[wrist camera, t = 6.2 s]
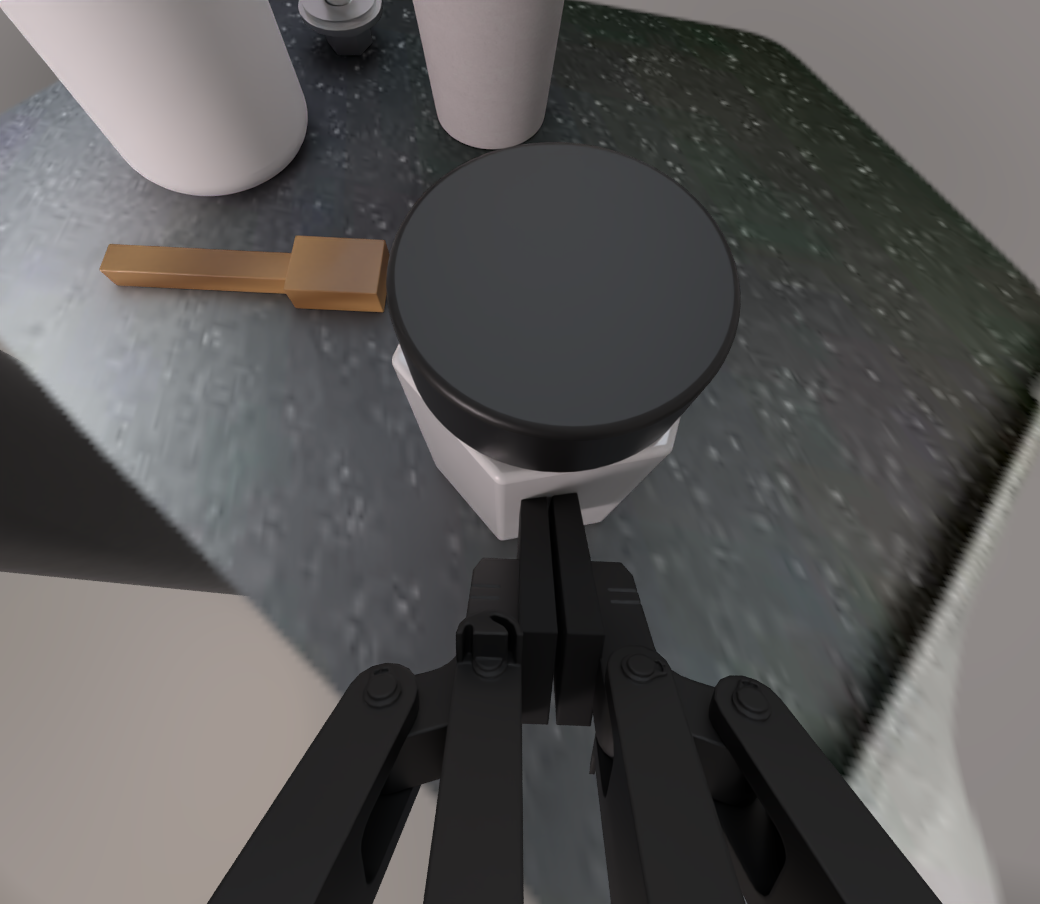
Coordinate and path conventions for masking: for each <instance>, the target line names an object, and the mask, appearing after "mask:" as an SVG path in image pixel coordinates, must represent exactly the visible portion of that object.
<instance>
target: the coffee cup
mask: <svg viewBox="0 0 1040 904" xmlns="http://www.w3.org/2000/svg"><path fill="white" fill-rule="evenodd" d="M413 3H414V8H415V13H416V17H417V22H418V27H419V31H420V36H421V41H422V46H423V50H424V55H425V60H426V64H427V69H428V74H429V78H430V83H431V88H432V93H433V97H434V102H435V107H436V111H437V116H438V119H439V121H440V123H441V125H442V127H443V128H444V129H445V131H446V132H447V133H448V134H449V135H451V136H452V137H453V138H455V139H456V140H458V141H460V142H462V143H464V144H466V145H469V146H472V147H476V148H482V149H503V148H507V147H512V146H515V145H518V144H520V143H523V142H524V141H526V140H528V139H529V138H531V137H532V136H533V135H534V134H535V133H536V132H537V131H538V130H539V128H540V127H541V125H542V123H543V120H544V116H545V111H546V105H547V99H548V93H549V87H550V81H551V75H552V69H553V64H554V58H555V52H556V46H557V40H558V34H559V28H560V22H561V16H562V10H563V5H564V0H413Z"/></svg>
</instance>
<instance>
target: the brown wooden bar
mask: <svg viewBox="0 0 1040 904" xmlns="http://www.w3.org/2000/svg"><path fill="white" fill-rule="evenodd" d="M388 260H389V252H388V249H387V245H386V242H385V240H374V239H354V238H335V237H315V236H295V240H294V245H293V249H292V253H278V252H259V251H239V250H219V249H199V248H179V247H160V246H140V245H120V244H109V245H108V248H107V251H106V253H105V256H104V258H103V261H102V264H101V266H100V271H101V272H102V273H103V274H104V275H105V276H107V277H108V278H109V279H110V280H111V281H112V282H114V283H115V284H116V285H118V286H138V287H158V288H179V289H200V290H220V291H241V292H261V293H282V294H287V296H288V297H289V299H290V300H291V302H292V303H293V305H294V306H295V308H305V309H326V310H347V311H368V312H384V307H385V301H386V294H387V293H386V276H387V266H388Z"/></svg>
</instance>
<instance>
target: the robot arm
mask: <svg viewBox="0 0 1040 904" xmlns="http://www.w3.org/2000/svg"><path fill="white" fill-rule="evenodd" d="M640 602H641V601H640V598H639V595H638V593H637V588H636V585H635V582H634V579H633V575H632V574H631V573H630V572H629V571H628V570H627V569H626V568H625V566H624V565H623V564H622V563H620V562H596V561H591V559H590V554H589V549H588V544H587V539H586V534H585V529H584V524H583V519H582V514H581V509H580V504H579V499H578V494H577V493H570V494H562V495H554V496H553V497H552V499H551V502H550V505H549V507H547V496H546V497H539V498H531V499H523V500H521V505H520V513H519V530H518V552H517V559H497V558H482V559H481V561H480V562H479V563H478V565H477V566H476V567H475V568H474V570H473V575H472V581H471V588H470V595H469V602H468V609H467V615H466V618H465V619H464V620H463V621H462V622H461V623H460V624H459V627H458V629H457V631H456V657H455V658H453V659H452V660H451V661H450V662H449V663H448V664H446V665H444V666H443V667H441V668H438V669H435V670H433V671H429V672H425V673H421V674H417V675H414V674H413V673H412V672H411V671H410V669H409V668H406V667H404V666H402V665H400V664H393V663H384V664H380V665H376V666H372V667H370V668H369V669H367V670H365V671H363V672H362V673H360V674H359V675H358V676H357V677H356V679H355V680H354V681H353V682H352V683H351V684H350V686H349V687H348V689H347V690H346V692H345V693H344V695H343V696H342V698H341V700H340V701H339V703H338V704H337V706H336V707H335V709H334V710H333V712H332V713H331V715H330V716H329V718H328V719H327V721H326V722H325V724H324V725H323V727H322V729H321V730H320V732H319V733H318V735H317V736H316V738H315V739H314V741H313V742H312V744H311V745H310V747H309V749H308V750H307V751H306V753H305V755H304V756H303V758H302V759H301V761H300V762H299V764H298V765H297V767H296V768H295V770H294V771H293V773H292V774H291V776H290V778H289V779H288V781H287V782H286V784H285V785H284V787H283V788H282V790H281V791H280V793H279V794H278V796H277V797H276V799H275V800H274V802H273V804H272V805H271V807H270V808H269V810H268V811H267V813H266V814H265V816H264V817H263V819H262V820H261V822H260V823H259V825H258V826H257V828H256V829H255V831H254V832H253V834H252V836H251V837H250V839H249V840H248V842H247V843H246V845H245V847H244V848H243V849H242V851H241V853H240V854H239V855H238V857H237V858H236V860H235V862H234V863H233V865H232V866H231V868H230V869H229V871H228V872H227V874H226V875H225V877H224V878H223V880H222V881H221V883H220V885H219V886H218V888H217V889H216V891H215V892H214V894H213V895H212V897H211V898H210V900H209V901H208V903H207V904H373V901H374V899H375V897H376V894H377V892H378V889H379V887H380V884H381V882H382V879H383V877H384V874H385V872H386V870H387V867H388V865H389V862H390V860H391V857H392V855H393V853H394V850H395V848H396V845H397V843H398V840H399V838H400V835H401V833H402V830H403V828H404V826H405V823H406V821H407V818H408V816H409V813H410V811H411V808H412V806H413V803H414V801H415V799H416V796H417V794H418V791H419V789H420V786H421V784H424V783H427V782H430V781H433V780H437V779H440V785H439V792H438V800H437V807H436V814H435V822H434V830H433V836H432V843H431V850H430V858H429V866H428V872H427V879H426V887H425V894H424V901H423V904H524V897H523V791H522V724H548V720H549V711H550V702H551V692H552V683H553V677H554V693H555V708H556V724H557V725H575V726H591V720H592V714H593V716H594V723H595V731H596V733H595V739H594V745H593V751H592V756H591V762H590V773H589V774H595V770H596V779H597V787H598V795H599V804H600V812H601V821H602V829H603V838H604V846H605V855H606V863H607V872H608V880H609V889H610V897H611V904H745V901H744V898H745V899H746V901H747V903H748V904H942V902H941V901H940V900H939V899H938V897H937V896H936V895H935V894H934V892H933V891H932V890H931V889H930V887H929V886H928V885H927V883H926V882H925V881H924V880H923V878H922V877H921V876H920V875H919V873H918V872H917V871H916V870H915V868H914V867H913V866H912V864H911V863H910V862H909V861H908V859H907V858H906V857H905V856H904V854H903V853H902V852H901V851H900V849H899V848H898V847H897V846H896V844H895V843H894V842H893V840H892V839H891V838H890V837H889V835H888V834H887V833H886V832H885V830H884V829H883V828H882V827H881V825H880V824H879V823H878V821H877V820H876V819H875V818H874V816H873V815H872V814H871V813H870V811H869V810H868V809H867V808H866V806H865V805H864V804H863V803H862V801H861V800H860V799H859V797H858V796H857V795H856V794H855V792H854V791H853V790H852V789H851V787H850V786H849V785H848V784H847V782H846V781H845V780H844V778H843V777H842V776H841V775H840V773H839V772H838V771H837V770H836V768H835V767H834V766H833V765H832V763H831V762H830V761H829V760H828V758H827V757H826V756H825V754H824V753H823V752H822V751H821V749H820V748H819V747H818V746H817V744H816V743H815V742H814V741H813V739H812V738H811V737H810V735H809V734H808V733H807V732H806V730H805V729H804V728H803V727H802V725H801V724H800V723H799V722H798V720H797V719H796V718H795V716H794V715H793V714H792V713H791V711H790V710H789V709H788V708H787V706H786V705H785V704H784V703H783V701H782V700H781V699H780V698H779V697H778V696H777V695H776V694H775V693H774V692H773V691H772V690H771V689H770V688H769V687H767V686H765V685H764V684H762V683H760V682H759V681H757V680H755V679H751V678H748V677H745V676H728V677H725V678H723V679H720V681H719V682H718V684H717V685H716V686H715V687H712V686H709V685H706V684H703V683H699V682H696V681H693V680H690V679H688V678H685V677H683V676H681V675H679V674H677V673H676V672H674V671H673V670H671V668H670V666H669V665H668V663H667V661H666V660H665V659H664V658H663V657H662V656H661V655H660V654H658V653H657V652H656V650H655V647H654V644H653V640H652V637H651V634H650V631H649V627H648V624H647V621H646V618H645V614H644V611H643V608H642V605H641V603H640ZM743 896H744V898H743Z"/></svg>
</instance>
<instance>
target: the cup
mask: <svg viewBox="0 0 1040 904" xmlns="http://www.w3.org/2000/svg"><path fill="white" fill-rule="evenodd" d="M0 7H1V9H2V10H3V11H4V12H5V14H6V15H7V16H8V17H9V19H10V20H11V21H12V22H13V23H14V25H15V26H16V27H17V28H18V30H19V31H20V32H21V33H22V34H23V35H24V37H25V38H26V39H27V40H28V42H29V43H30V44H31V45H32V47H33V48H34V49H35V50H36V52H37V53H38V54H39V55H40V56H41V58H42V59H43V60H44V61H45V62H46V64H47V65H48V66H49V67H50V69H51V70H52V71H53V72H54V73H55V75H56V76H57V77H58V79H59V80H60V81H61V82H62V83H63V85H64V86H65V87H66V88H67V90H68V91H69V92H70V93H71V94H72V96H73V97H74V98H75V99H76V101H77V102H78V103H79V104H80V105H81V107H82V108H83V109H84V110H85V112H86V113H87V114H88V115H89V116H90V118H91V119H92V120H93V121H94V123H95V124H96V125H97V126H98V127H99V129H100V130H101V131H102V132H103V134H104V135H105V136H106V137H107V138H108V140H109V141H110V142H111V143H112V145H113V146H114V147H115V148H116V149H117V151H118V152H119V153H120V154H121V156H122V157H123V158H124V159H125V160H126V162H127V163H128V164H129V165H130V166H131V167H132V168H134V169H135V170H136V171H137V172H138V173H140V174H141V175H142V176H144V177H145V178H146V179H148V180H150V181H152V182H153V183H155V184H158V185H160V186H162V187H164V188H166V189H169V190H172V191H176V192H179V193H184V194H189V195H196V196H220V195H228V194H233V193H237V192H241V191H245V190H248V189H251V188H253V187H256V186H258V185H260V184H262V183H264V182H266V181H268V180H269V179H271V178H272V177H274V176H276V175H277V174H278V173H279V172H281V171H282V170H283V169H284V168H285V167H286V166H287V165H288V164H289V163H290V162H291V161H292V160H293V159H294V157H295V156H296V154H297V153H298V151H299V149H300V147H301V145H302V143H303V141H304V138H305V135H306V129H307V123H308V112H307V106H306V101H305V97H304V94H303V92H302V89H301V86H300V84H299V81H298V78H297V76H296V73H295V70H294V68H293V65H292V62H291V60H290V57H289V54H288V52H287V49H286V47H285V44H284V41H283V39H282V36H281V33H280V31H279V28H278V25H277V23H276V20H275V17H274V15H273V12H272V9H271V7H270V4H269V1H268V0H0Z"/></svg>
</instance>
